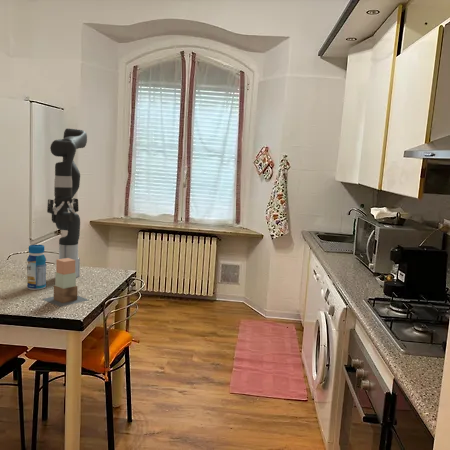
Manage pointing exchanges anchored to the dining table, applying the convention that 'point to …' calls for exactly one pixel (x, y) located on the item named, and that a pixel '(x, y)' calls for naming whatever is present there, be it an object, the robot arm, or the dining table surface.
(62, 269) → the terracotta cube
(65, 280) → the sage block
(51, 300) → the slate mat
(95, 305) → the dining table surface
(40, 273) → the beverage bottle
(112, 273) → the dining table surface
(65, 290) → the walnut block
